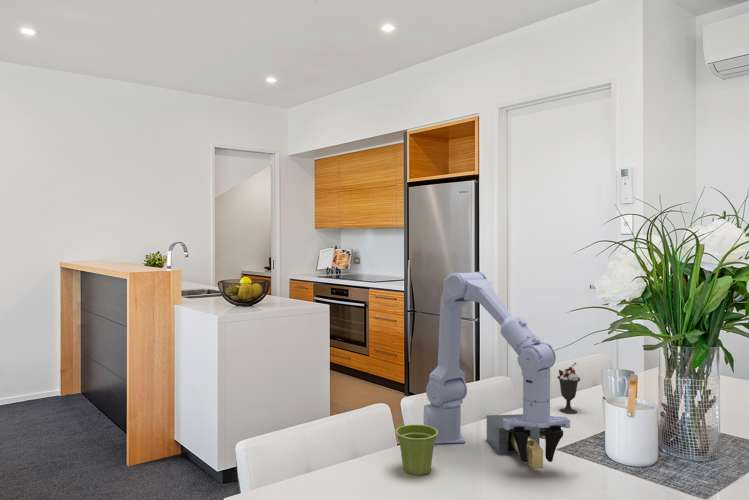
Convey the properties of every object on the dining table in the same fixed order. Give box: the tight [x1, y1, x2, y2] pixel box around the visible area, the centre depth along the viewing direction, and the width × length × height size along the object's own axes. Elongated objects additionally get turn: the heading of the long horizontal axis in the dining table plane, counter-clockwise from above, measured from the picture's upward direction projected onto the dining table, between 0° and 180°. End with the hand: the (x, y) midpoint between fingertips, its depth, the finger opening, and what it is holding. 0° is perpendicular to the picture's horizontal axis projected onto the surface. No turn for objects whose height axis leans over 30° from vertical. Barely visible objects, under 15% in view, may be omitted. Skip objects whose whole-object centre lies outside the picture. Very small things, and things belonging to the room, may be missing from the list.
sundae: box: [556, 362, 581, 415], centre depth 165 cm, size 7×7×15 cm
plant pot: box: [395, 424, 438, 476], centre depth 121 cm, size 9×9×9 cm
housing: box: [486, 413, 541, 456], centre depth 135 cm, size 10×10×6 cm
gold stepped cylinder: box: [508, 431, 544, 469], centre depth 126 cm, size 5×13×5 cm, turn 5°
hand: (536, 460), depth 120 cm, fingers open, 5 cm apart
